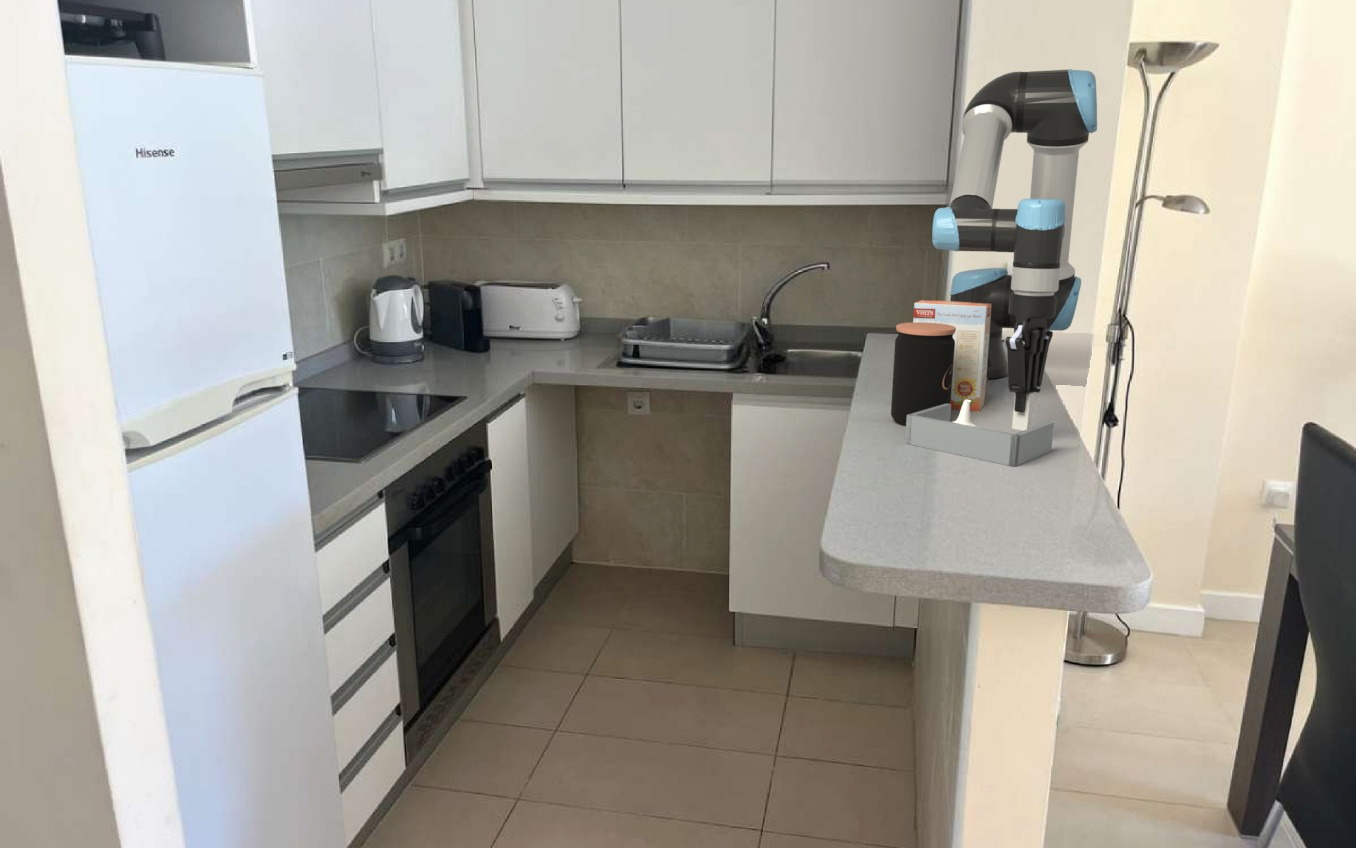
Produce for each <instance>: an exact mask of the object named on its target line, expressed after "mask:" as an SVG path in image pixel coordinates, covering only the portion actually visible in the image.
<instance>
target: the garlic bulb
mask: <svg viewBox="0 0 1356 848" xmlns="http://www.w3.org/2000/svg"><path fill="white" fill-rule="evenodd" d="M970 402H971V400H965V401H964V402H963V405H962V408H961V409H960V411H959V415H958V416H957V419H956V420H954V421H953V422H954V423H959V424H964V425H970V426H975V427H978V426H977V425H976V424H974V423H973V422H972V421H971V410H970Z"/></svg>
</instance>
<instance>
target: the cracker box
mask: <svg viewBox="0 0 1356 848" xmlns="http://www.w3.org/2000/svg"><path fill="white" fill-rule="evenodd" d="M913 305H914V306H913V319H912V323H913V322H925V323H939V324H946V325H951V326H954V327H956V331H955V333H954V334H953V339H954V340H955V350H954V364H953V377H952V391H951V410H953V409H954V410H961V408H962V405H963V402H964V401H965V400H971V402H970V412H971V411H972V412H980V411H981V410H982V409H983V407H984V406H985V399H986V398H985V397H986V390H985V388H987V384H986V375H987V360H988V347H989V334H990V319H991V304H990V303H970V302H955V301H950V300H928V299H927V300H926V299H925V300H924V299H920V300H918V301H915V302H914V304H913Z"/></svg>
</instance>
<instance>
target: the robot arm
mask: <svg viewBox="0 0 1356 848" xmlns="http://www.w3.org/2000/svg"><path fill="white" fill-rule="evenodd" d="M1096 80H1097V79H1096V75H1095V74H1094V73H1093V72H1092V71H1090V70H1082V69H1079V70H1078V69H1077V70H1076V69H1071V68H1070V69H1058V70H1057V69H1054V70H1037V71H1036V70H1035V71H1013V72H1008V73H1004V74H1002V75H1000V76H998V77H996V78H994V79H992V80H990V81H989V82H988V83H986V84H985V85H984V86H982V87H981V89H979V90H978V91H977V92H976V93H975V95H974V96H973V97H972V99H970V101H969V103H968V104H967V106H966V108H965V110H964V113H963V115H962V121H961V132H962V134H963V140H962V144H961V145H962V146H961V151H960V155H959V159H958V164H957V168H956V169H957V170H956V173H955V179H954V182H953V183H954V184H953V188H952V192H951V196H950V202H949V206H946V207H939V208H938V209H936V211H935V212H934V213H933V214H934V215H933V221H932V232H931V233H932V234H931V235H932V237H931V239H932V245H933V246H934V248H935V249H937V250H940V251H941V250H942V251H951V252H952V251H953V252H985V253H986V252H994V253H1013V262H1012V271H1010V274H1008V273H1009V271H1008V269H1007V268H1006V267H989V268H988V267H987V268H986V267H985V268H979V269H977V268H975V269H970V270H969V269H968V270H963V271H959V272H957V273H956V274H955V275H953V277H952V280H951V288H950V292H949V296H950V299H949V301H955V302H970V303H990V304H991V319H990V334H989V347H988V360H987V375H986V377H987V378H988V379H996V378H999V379H1000V378H1003V377H1005V376H1008V377H1007V379H1008V383H1007V384H1008V390H1009V392H1011V393H1014V402H1013V413H1012V422H1011V423H1012V425H1011V429H1013V430H1018V431H1024V430H1027V429H1029V428H1032V419H1033V409H1034V406H1033V405H1034V398H1035V393H1038V394H1039V393H1041V388H1040V387H1042V382H1043V380H1044V379H1043V378H1044V373H1045V367H1046V364H1047V363H1046V362H1047V358H1048V352H1049V347H1050V343H1051V341H1052V339H1053V335H1054V332H1053V331H1057V332H1058V331H1061V332H1062V331H1066V330H1068V329H1069V328H1070V327H1071V325H1072V323H1073V320H1074V316H1075V312H1076V308H1077V304H1078V301H1079V296H1080V295H1079V294H1080V291H1081V286H1082V279H1081V277H1078V276H1075V275H1076V268H1075V267H1074V266H1073V265H1072V264H1071V263H1070V262H1069V261H1070V260H1069V259H1070V249H1071V248H1070V247H1071V235H1072V226H1073V215H1074V206H1075V195H1076V185H1077V176H1078V166H1079V156H1080V155H1079V154H1080V153H1079V152H1080V150H1081V148H1083V147H1084V146H1085V145H1086V144H1087V143H1088V142H1089V138H1090V137H1089V135H1090V134H1093V133H1095V132H1097V130H1098V102H1097V99H1098V98H1097V94H1098V93H1097V81H1096ZM1011 133H1012V134H1013V133H1017V134H1019V133H1020V134H1021V133H1022V134H1023V133H1026V143H1027V144H1028V145H1029V147H1031V148H1032V150H1033V155H1032V157H1033V160H1032V169H1031V184H1030V194H1029V195H1030V197H1029V198H1023V199H1021V200H1020V201H1019V202H1018V204H1017V208H993V205H994V201H995V194H996V188H997V183H998V176H999V171H1000V166H1001V165H1000V164H1001V162H1002V161H1001V160H1002V156H1003V149H1004V144H1005V143H1004V142H1005V140H1006V139H1008V137H1009V136H1010V134H1011ZM1003 329H1013V335H1012V336H1006V337H1005V346H1006V351H1007V358H1006V353H1005V349H1004V346H1003V345H1004V344H1003V341H1002V338H1003Z"/></svg>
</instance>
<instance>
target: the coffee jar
mask: <svg viewBox="0 0 1356 848" xmlns="http://www.w3.org/2000/svg"><path fill="white" fill-rule="evenodd" d="M895 330H896V332H897V333H898V335H897V336H896V338H895V339H894V354H893V372H892V388H891V389H892V390H891V404H890V407H891V408H890V416H891V417H892V419H893V421H894V423H896V424H897V425H900V426H902V427H906V421H907V415H909V414H912V413H915V412H919V411H922V410H926V409H929V408H932V407H936V406H939V405H943V404H946V403H947V404H951V391H952V377H953V364H954V350H955V340H954V339H953V334H954V333H955V331H956V327H954V326H951V325H946V324H939V323H925V322H913V321H912V322H903V323H898V324H897V325H896V326H895Z"/></svg>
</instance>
